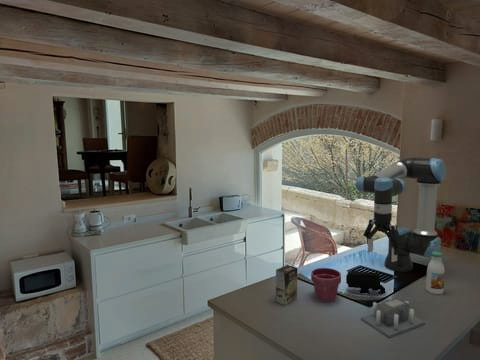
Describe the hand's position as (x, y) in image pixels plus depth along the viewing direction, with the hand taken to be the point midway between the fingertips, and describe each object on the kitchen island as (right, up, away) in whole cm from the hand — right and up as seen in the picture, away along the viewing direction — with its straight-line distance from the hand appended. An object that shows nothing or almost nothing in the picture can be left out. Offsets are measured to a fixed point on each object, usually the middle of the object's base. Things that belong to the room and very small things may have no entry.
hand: (381, 256), depth 161 cm
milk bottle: (+31, -20, +12) cm, 39 cm away
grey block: (-1, -24, -14) cm, 28 cm away
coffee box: (-43, -23, +7) cm, 50 cm away
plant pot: (-24, -22, +8) cm, 34 cm away
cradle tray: (-1, -25, -14) cm, 28 cm away
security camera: (-3, -21, +12) cm, 25 cm away
